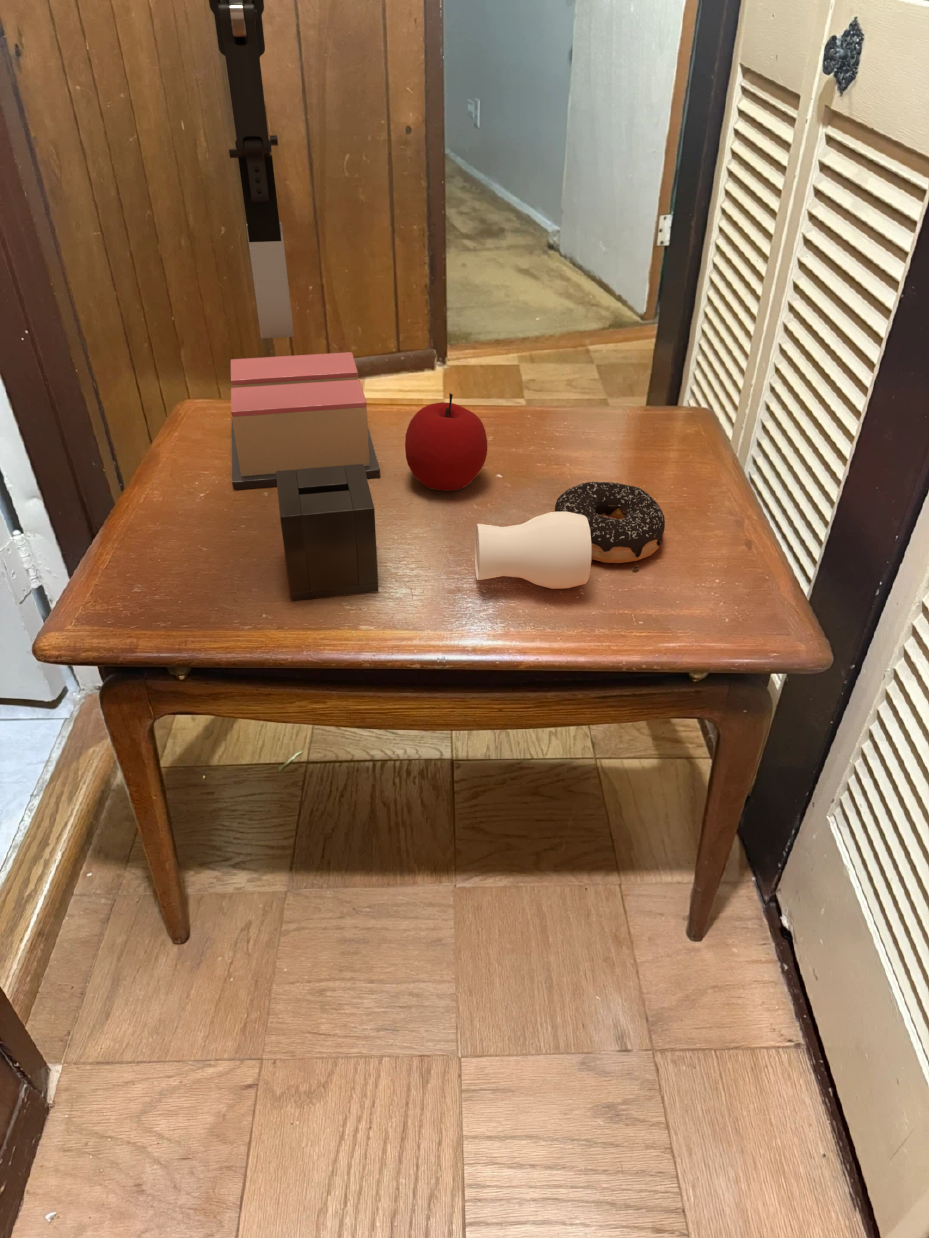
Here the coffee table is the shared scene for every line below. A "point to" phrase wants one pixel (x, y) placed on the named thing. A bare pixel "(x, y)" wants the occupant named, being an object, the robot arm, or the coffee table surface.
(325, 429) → the cake
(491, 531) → the cream ceramic vase
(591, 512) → the donut
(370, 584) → the knife block
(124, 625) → the coffee table surface
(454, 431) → the apple
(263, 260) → the knife
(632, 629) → the coffee table surface
